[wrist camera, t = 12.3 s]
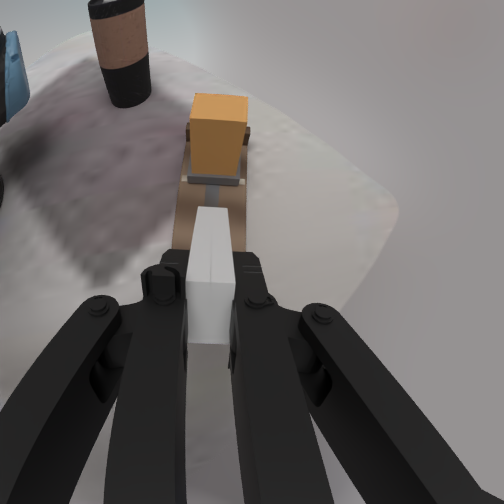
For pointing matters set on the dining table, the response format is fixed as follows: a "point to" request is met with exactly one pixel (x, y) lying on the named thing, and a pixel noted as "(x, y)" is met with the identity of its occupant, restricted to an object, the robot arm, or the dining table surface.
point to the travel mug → (122, 49)
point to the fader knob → (216, 138)
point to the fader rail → (211, 202)
